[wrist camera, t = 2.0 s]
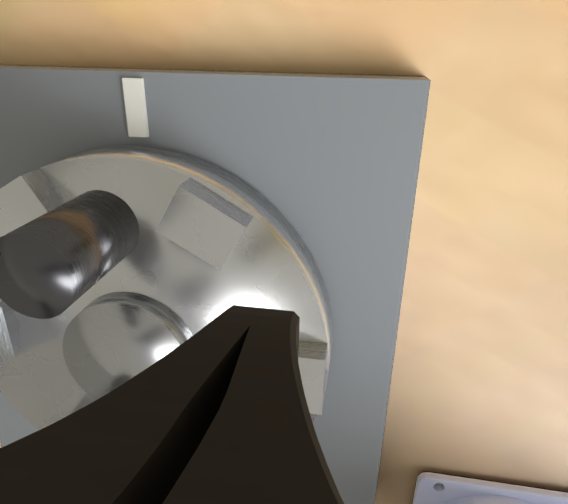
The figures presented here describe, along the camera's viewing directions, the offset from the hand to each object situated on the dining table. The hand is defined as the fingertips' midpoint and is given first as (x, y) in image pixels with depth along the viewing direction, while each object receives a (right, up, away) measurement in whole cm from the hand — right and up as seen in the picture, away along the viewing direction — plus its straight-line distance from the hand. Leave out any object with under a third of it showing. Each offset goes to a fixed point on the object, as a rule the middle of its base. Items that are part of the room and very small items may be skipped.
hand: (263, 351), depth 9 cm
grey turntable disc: (-5, -1, +11) cm, 12 cm away
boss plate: (-5, 0, +13) cm, 13 cm away
